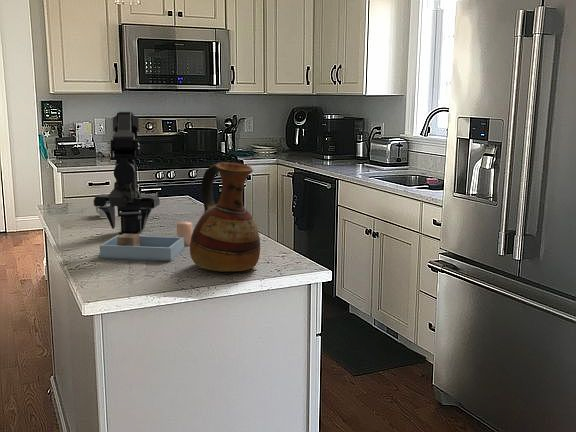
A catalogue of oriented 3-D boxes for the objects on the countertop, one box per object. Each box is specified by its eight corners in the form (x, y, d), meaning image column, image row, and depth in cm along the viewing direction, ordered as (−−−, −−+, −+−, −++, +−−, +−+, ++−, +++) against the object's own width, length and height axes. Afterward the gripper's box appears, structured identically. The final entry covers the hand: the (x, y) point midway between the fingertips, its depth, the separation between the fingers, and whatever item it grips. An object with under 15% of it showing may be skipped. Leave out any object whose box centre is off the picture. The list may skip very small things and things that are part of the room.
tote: (100, 258, 188) (99, 245, 187) (117, 247, 201) (117, 234, 200) (170, 261, 185) (170, 248, 184) (184, 249, 198) (183, 237, 198)
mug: (121, 216, 248) (120, 199, 247) (107, 219, 242) (107, 202, 241) (103, 213, 253) (102, 197, 252) (90, 216, 248) (89, 199, 246)
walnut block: (118, 253, 191) (117, 237, 190) (124, 249, 196) (123, 233, 195) (134, 254, 191) (133, 237, 190) (139, 249, 196) (139, 234, 195)
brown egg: (175, 245, 204) (174, 224, 202) (179, 241, 208) (179, 221, 207) (190, 246, 203) (189, 224, 202) (194, 242, 208) (194, 221, 206)
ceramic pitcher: (233, 282, 166) (231, 169, 160) (175, 270, 176) (171, 163, 170) (274, 265, 182) (274, 161, 176) (218, 255, 192) (217, 156, 186)
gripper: (84, 181, 182) (87, 234, 185) (146, 182, 180) (148, 236, 183) (100, 175, 193) (102, 225, 196) (159, 177, 191) (161, 227, 194)
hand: (128, 229), depth 192 cm, fingers open, 9 cm apart
